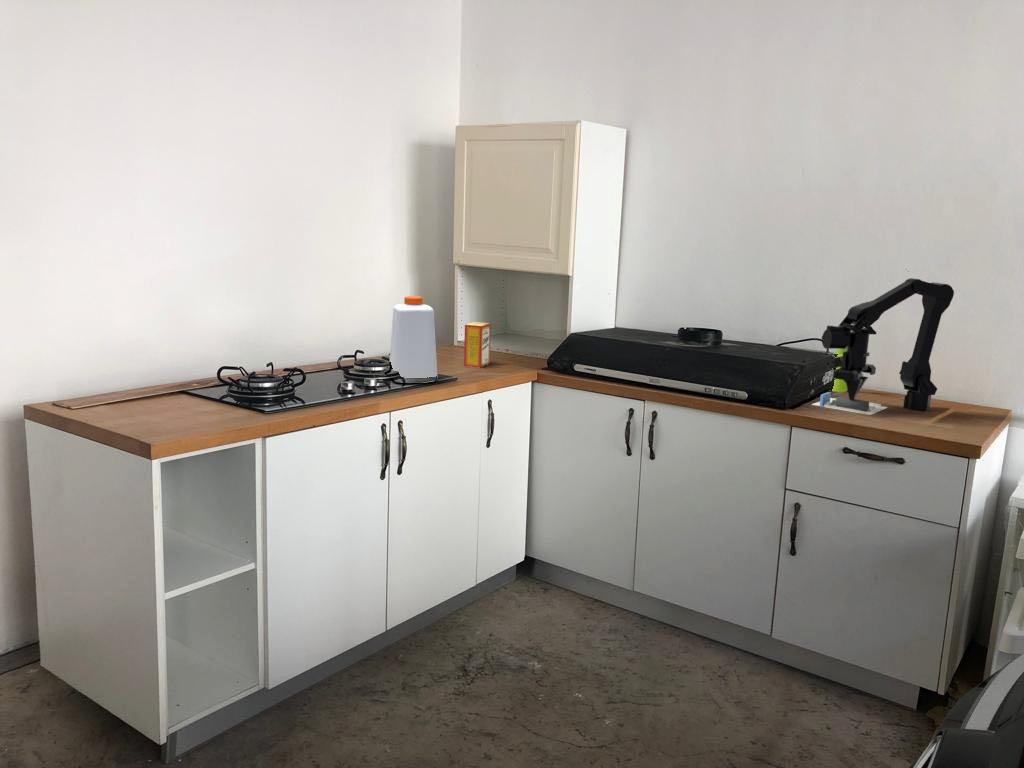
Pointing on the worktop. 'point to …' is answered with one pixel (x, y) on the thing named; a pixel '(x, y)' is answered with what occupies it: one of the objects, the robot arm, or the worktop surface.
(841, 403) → the dark grey bar
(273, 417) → the worktop surface
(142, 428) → the worktop surface
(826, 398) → the board
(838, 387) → the soap dispenser
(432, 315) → the plastic bottle
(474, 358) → the baking soda box
